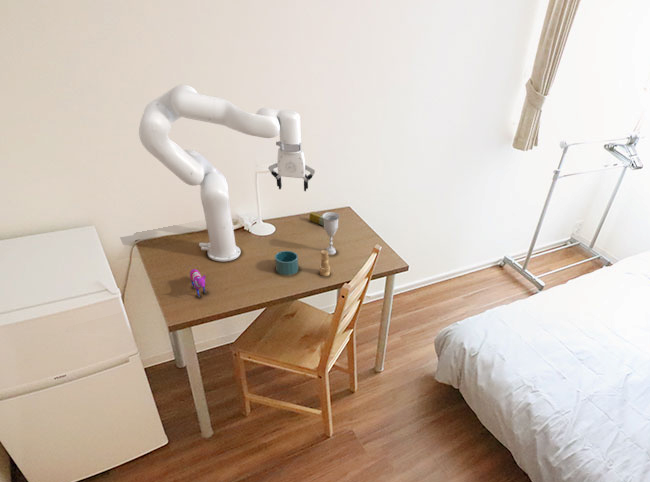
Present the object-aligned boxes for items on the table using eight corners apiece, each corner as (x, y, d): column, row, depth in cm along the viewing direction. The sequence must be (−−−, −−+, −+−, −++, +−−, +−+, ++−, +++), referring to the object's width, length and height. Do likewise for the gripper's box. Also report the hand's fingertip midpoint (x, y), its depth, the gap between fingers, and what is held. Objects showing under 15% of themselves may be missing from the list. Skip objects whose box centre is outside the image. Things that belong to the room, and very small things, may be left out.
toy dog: (201, 304, 164) (196, 281, 158) (187, 278, 174) (181, 255, 168) (212, 302, 166) (207, 278, 160) (197, 276, 176) (192, 253, 170)
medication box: (333, 227, 221) (333, 219, 219) (330, 228, 219) (330, 221, 216) (312, 218, 223) (312, 211, 221) (308, 220, 221) (309, 212, 219)
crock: (274, 275, 184) (273, 262, 180) (277, 263, 191) (276, 250, 186) (297, 276, 186) (296, 263, 182) (299, 264, 192) (298, 251, 188)
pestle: (319, 277, 188) (319, 254, 181) (320, 271, 191) (319, 248, 184) (329, 277, 189) (329, 254, 182) (329, 271, 192) (330, 249, 185)
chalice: (334, 258, 200) (335, 221, 189) (320, 254, 200) (319, 217, 189) (341, 250, 206) (342, 214, 194) (326, 247, 206) (326, 210, 195)
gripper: (265, 147, 168) (268, 191, 178) (313, 152, 171) (314, 194, 182) (267, 140, 173) (271, 183, 184) (315, 145, 177) (315, 186, 188)
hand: (292, 188), depth 183 cm, fingers open, 9 cm apart
